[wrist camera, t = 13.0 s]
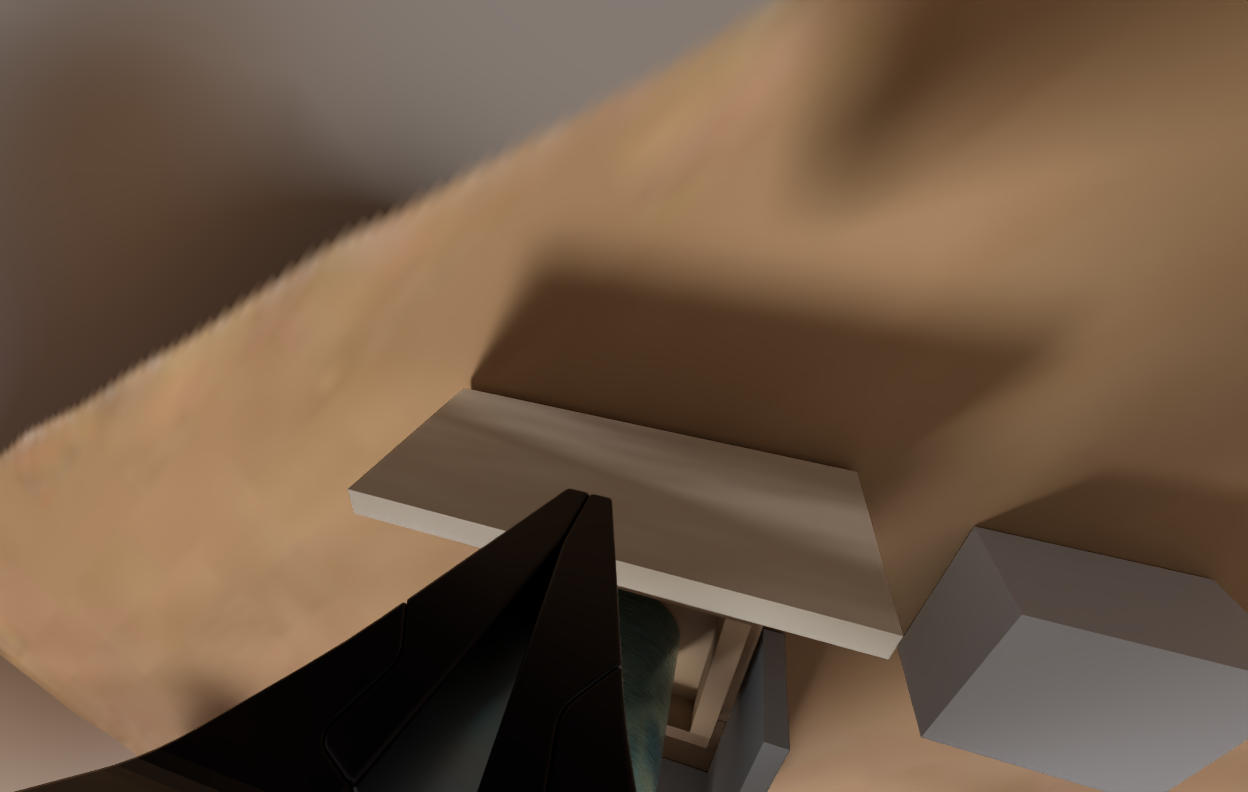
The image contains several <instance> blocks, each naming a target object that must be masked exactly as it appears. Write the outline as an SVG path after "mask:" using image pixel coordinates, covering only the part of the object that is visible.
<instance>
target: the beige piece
mask: <svg viewBox="0 0 1248 792" xmlns="http://www.w3.org/2000/svg"><path fill="white" fill-rule="evenodd" d="M570 488H571V489H576V490H580V491H584V492H587V493H588V494H589V496H590V495H591V494H596V495H600V496H604V497H608V498H611V500H612V506H613V522H614V539H615V556H616V572H617V589H621V590H624V591H628V592H632V593H635V594H639V595H642V596H646V597H650V598H653V599H656V600H658V601H659V602H660V603H661V604H662V605H664V607H665V608H666V609H667V610H668V611H669V612H670V613H671V614H672V616H673V617H674V619H675V620H676V622H677V625H678V627H679V631H680V644H679V650H678V657H677V663H676V670H675V676H674V683H673V689H672V695H671V702H670V708H669V715H668V721H667V728H666V734H665V735H666V736H669V737H673V738H676V739H679V740H682V741H685V742H688V743H691V744H694V745H697V746H700V747H704V748H707V746H708V744H709V741H710V738H711V735H712V733H713V730H714V727H715V724H716V722H717V719H718V720H721V721H724V722H726V721H727V719H728V716H729V714H730V711H731V708H732V706H733V703H734V701H735V698H736V695H737V693H738V690H739V688H740V685H741V682H742V680H743V677H744V675H745V672H746V670H747V667H748V664H749V662H750V659H751V657H752V654H753V651H754V649H755V646H756V644H757V641H758V638H759V636H760V633H761V631H762V628H763V625H764V626H768V627H771V628H775V629H778V630H782V631H786V632H789V633H793V634H797V635H800V636H804V637H808V638H811V639H815V640H819V641H822V642H826V643H830V644H833V645H837V646H841V647H844V648H848V649H852V650H855V651H859V652H862V653H866V654H870V655H873V656H877V657H881V658H884V659H889V658H890V656H891V654H892V653H893V651H894V650H895V648H896V647H897V645H898V644H899V642H900V640H901V639H902V637H903V634H902V630H901V626H900V623H899V619H898V616H897V612H896V609H895V605H894V601H893V598H892V594H891V591H890V587H889V584H888V580H887V577H886V573H885V569H884V566H883V562H882V559H881V555H880V552H879V548H878V545H877V541H876V537H875V534H874V530H873V527H872V523H871V520H870V516H869V512H868V509H867V505H866V502H865V498H864V495H863V491H862V488H861V484H860V480H859V477H858V473H857V472H855V471H851V470H846V469H841V468H837V467H832V466H827V465H823V464H818V463H813V462H809V461H804V460H799V459H795V458H790V457H785V456H781V455H776V454H771V453H766V452H762V451H757V450H752V449H748V448H743V447H738V446H734V445H729V444H724V443H720V442H715V441H710V440H706V439H701V438H696V437H692V436H687V435H682V434H677V433H673V432H668V431H663V430H659V429H654V428H649V427H645V426H640V425H635V424H631V423H626V422H621V421H617V420H612V419H607V418H602V417H598V416H593V415H588V414H584V413H579V412H574V411H570V410H565V409H560V408H556V407H551V406H546V405H542V404H537V403H532V402H528V401H523V400H518V399H513V398H509V397H504V396H499V395H495V394H490V393H485V392H481V391H476V390H471V389H467V388H463V389H462V390H461V391H460V392H459V393H457V394H456V395H455V396H454V397H453V398H452V399H450V400H449V401H448V402H447V403H446V404H445V405H444V406H442V407H441V408H440V409H439V410H438V411H437V412H436V413H434V414H433V415H432V416H431V417H430V418H429V419H428V420H426V421H425V422H424V423H423V424H422V425H421V426H420V427H418V428H417V429H416V430H415V431H414V432H413V433H411V434H410V435H409V436H408V437H407V438H406V439H405V440H403V441H402V442H401V443H400V444H399V445H398V446H397V447H395V448H394V449H393V450H392V451H391V452H390V453H389V454H387V455H386V456H385V457H384V458H383V459H382V460H381V461H379V462H378V463H377V464H376V465H375V466H374V467H372V468H371V469H370V470H369V471H368V472H367V473H366V474H364V475H363V476H362V477H361V478H360V479H359V480H358V481H356V482H355V483H354V484H353V485H352V486H351V487H350V488H348V492H349V496H350V499H351V503H352V507H353V510H354V513H355V514H358V515H362V516H366V517H369V518H373V519H377V520H380V521H384V522H388V523H391V524H395V525H399V526H402V527H406V528H410V529H413V530H417V531H421V532H424V533H428V534H431V535H435V536H439V537H442V538H446V539H450V540H453V541H457V542H461V543H464V544H468V545H472V546H475V547H479V548H482V547H484V546H485V545H487V544H488V543H490V542H491V541H492V540H494V539H495V538H497V537H498V536H500V535H501V534H503V533H504V532H505V531H507V530H508V529H510V528H511V527H513V526H514V525H515V524H517V523H518V522H520V521H521V520H523V519H524V518H526V517H527V516H528V515H530V514H531V513H533V512H534V511H536V510H537V509H539V508H540V507H541V506H543V505H544V504H546V503H547V502H549V501H550V500H552V499H553V498H554V497H556V496H557V495H559V494H560V493H562V492H563V491H565V490H566V489H570Z"/></svg>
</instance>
